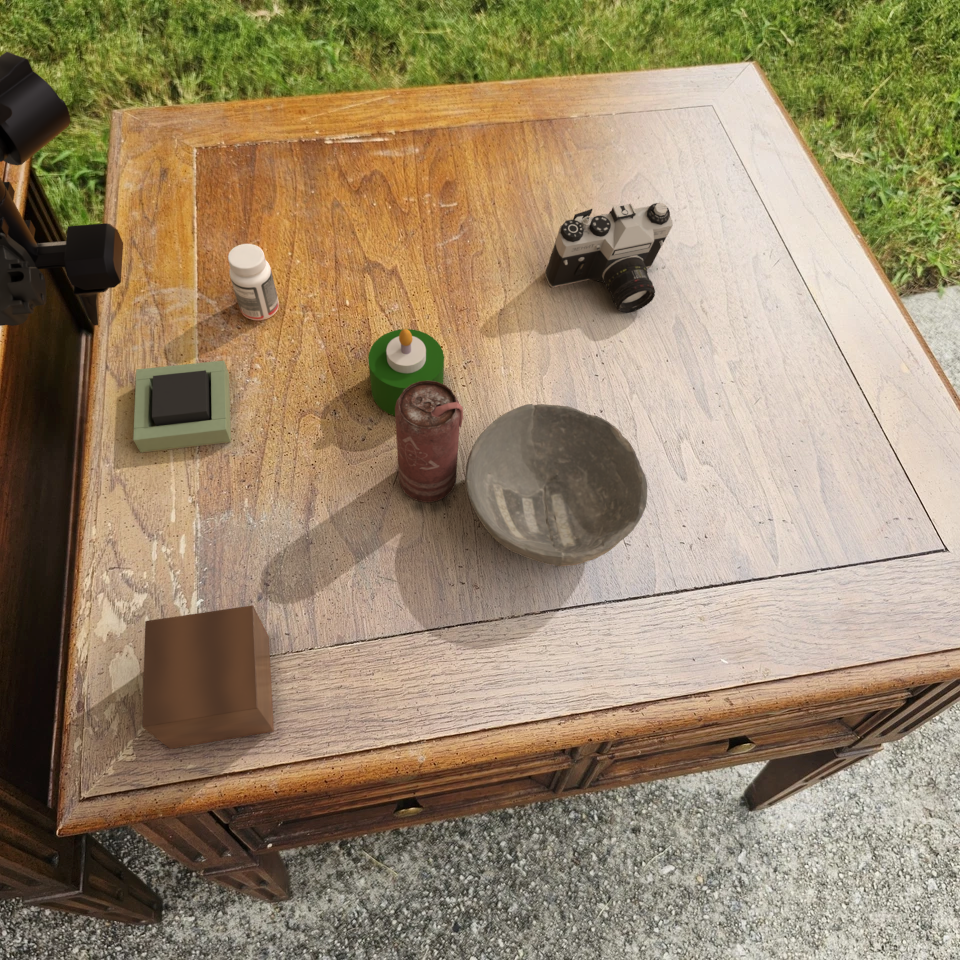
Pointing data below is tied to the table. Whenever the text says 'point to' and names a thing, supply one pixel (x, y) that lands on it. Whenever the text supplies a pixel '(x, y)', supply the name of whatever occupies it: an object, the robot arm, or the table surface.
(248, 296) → the pill bottle
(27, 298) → the robot arm
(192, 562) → the table surface
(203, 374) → the black block
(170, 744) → the block
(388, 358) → the candle
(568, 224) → the camera
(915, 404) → the table surface
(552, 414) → the bowl
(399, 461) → the can
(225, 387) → the green square frame
